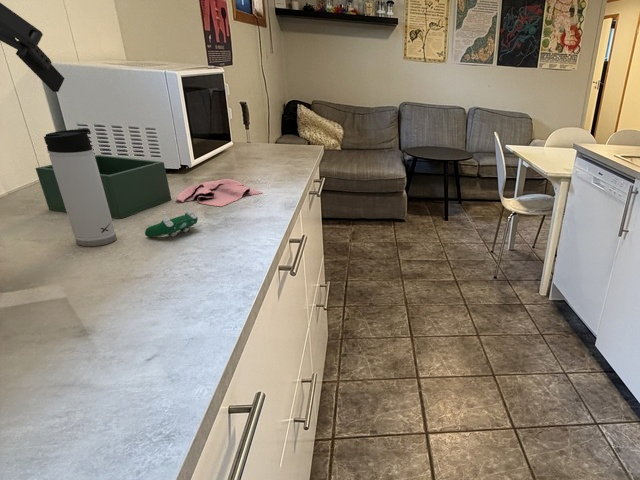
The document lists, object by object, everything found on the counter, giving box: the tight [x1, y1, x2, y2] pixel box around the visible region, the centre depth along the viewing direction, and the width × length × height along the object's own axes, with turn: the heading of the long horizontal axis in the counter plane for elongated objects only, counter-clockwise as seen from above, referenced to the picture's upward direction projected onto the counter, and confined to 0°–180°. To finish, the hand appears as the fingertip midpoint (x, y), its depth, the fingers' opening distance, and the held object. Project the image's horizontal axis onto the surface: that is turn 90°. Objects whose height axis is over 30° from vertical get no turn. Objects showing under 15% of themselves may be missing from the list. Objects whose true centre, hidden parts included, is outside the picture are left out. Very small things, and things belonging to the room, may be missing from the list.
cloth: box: [175, 178, 264, 208], centre depth 120 cm, size 20×22×2 cm
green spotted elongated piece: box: [144, 209, 198, 238], centre depth 94 cm, size 9×4×6 cm
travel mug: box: [43, 127, 118, 247], centre depth 84 cm, size 6×7×20 cm
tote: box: [35, 154, 172, 220], centre depth 106 cm, size 17×16×9 cm
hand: (14, 84), depth 70 cm, fingers open, 13 cm apart
